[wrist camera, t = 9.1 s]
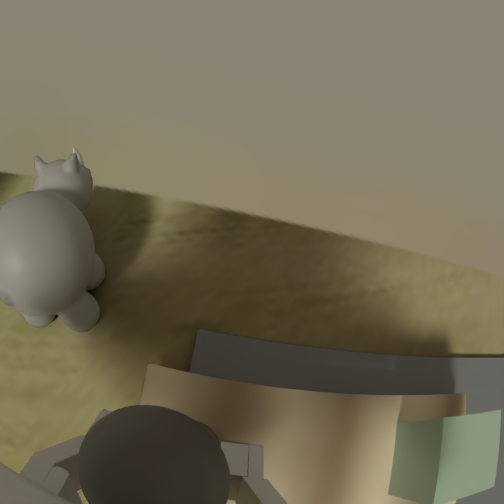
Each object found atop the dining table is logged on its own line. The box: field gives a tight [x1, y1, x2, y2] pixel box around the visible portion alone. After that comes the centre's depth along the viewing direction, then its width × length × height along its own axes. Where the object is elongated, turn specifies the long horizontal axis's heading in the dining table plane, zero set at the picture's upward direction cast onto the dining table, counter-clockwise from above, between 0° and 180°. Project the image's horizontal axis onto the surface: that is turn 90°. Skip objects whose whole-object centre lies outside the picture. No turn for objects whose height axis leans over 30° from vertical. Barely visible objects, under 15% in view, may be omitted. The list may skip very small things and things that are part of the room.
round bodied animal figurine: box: [0, 148, 105, 332], centre depth 17 cm, size 7×12×8 cm, turn 0°
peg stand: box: [77, 363, 466, 504], centre depth 9 cm, size 20×8×12 cm, turn 82°
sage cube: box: [388, 410, 501, 504], centre depth 11 cm, size 4×4×4 cm
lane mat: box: [189, 329, 504, 504], centre depth 15 cm, size 26×14×1 cm, turn 82°
